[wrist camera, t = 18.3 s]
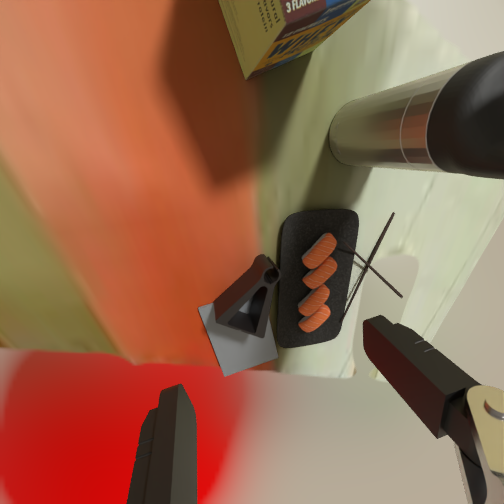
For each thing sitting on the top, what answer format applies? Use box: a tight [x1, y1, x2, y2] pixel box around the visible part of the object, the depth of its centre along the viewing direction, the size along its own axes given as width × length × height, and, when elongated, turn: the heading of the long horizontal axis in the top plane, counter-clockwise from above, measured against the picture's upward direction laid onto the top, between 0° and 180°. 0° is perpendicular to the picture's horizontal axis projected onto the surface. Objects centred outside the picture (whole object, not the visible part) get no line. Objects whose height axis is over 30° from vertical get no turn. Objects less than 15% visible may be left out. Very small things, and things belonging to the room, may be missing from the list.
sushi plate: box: [277, 209, 403, 348], centre depth 47 cm, size 29×30×4 cm
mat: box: [198, 295, 278, 376], centre depth 47 cm, size 12×18×1 cm, turn 13°
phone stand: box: [214, 254, 281, 338], centre depth 40 cm, size 9×6×12 cm
